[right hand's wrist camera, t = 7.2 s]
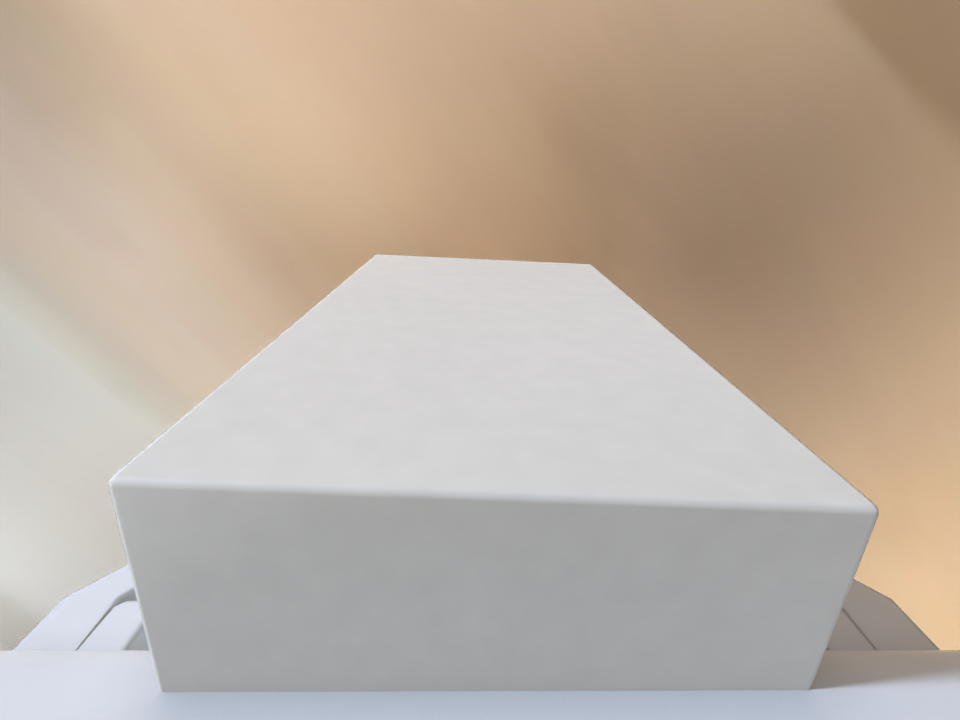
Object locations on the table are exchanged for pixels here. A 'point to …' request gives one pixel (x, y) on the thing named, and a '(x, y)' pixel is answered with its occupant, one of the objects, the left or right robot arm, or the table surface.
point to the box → (484, 503)
